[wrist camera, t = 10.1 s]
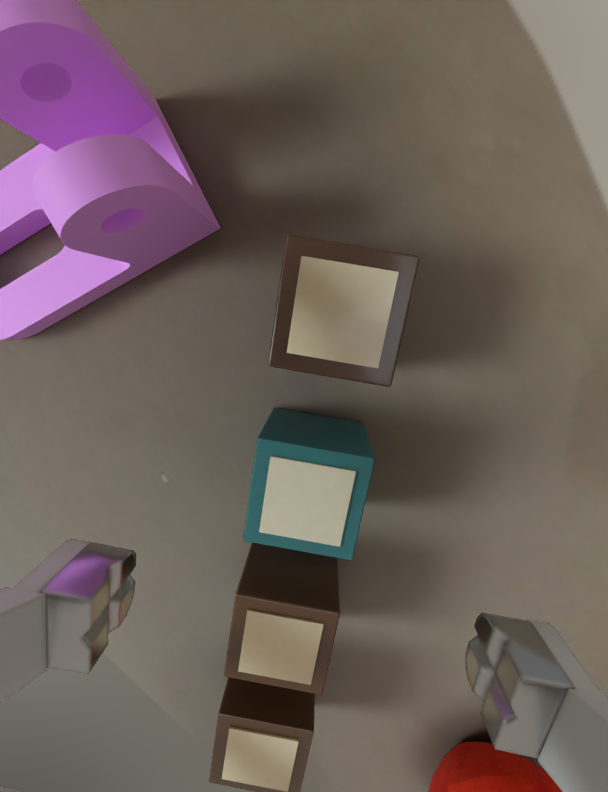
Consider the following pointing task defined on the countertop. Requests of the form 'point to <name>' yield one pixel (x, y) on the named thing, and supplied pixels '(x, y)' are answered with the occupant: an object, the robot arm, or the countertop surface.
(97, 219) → the bracket
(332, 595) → the block
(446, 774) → the apple
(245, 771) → the block
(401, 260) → the block
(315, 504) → the letter block
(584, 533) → the countertop surface
